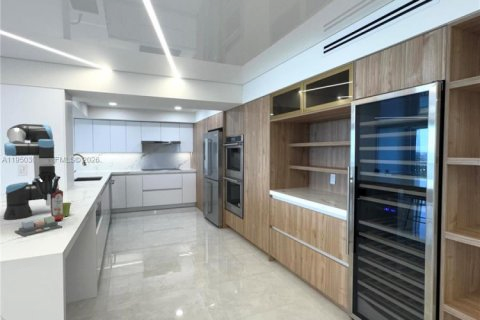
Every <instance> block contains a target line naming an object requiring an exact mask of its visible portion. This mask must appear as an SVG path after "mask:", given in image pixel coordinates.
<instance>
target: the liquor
mask: <svg viewBox="0 0 480 320" xmlns="http://www.w3.org/2000/svg"><path fill="white" fill-rule="evenodd" d="M54 180H55V177H54V179H53V182H54ZM63 203H64V191H63V190H61V189H60V186H59V184H58V185H57V189H56V192H55V193H53V194H52V199H51V205H50V214H51V215H50V216H53V217H55V222H61V221H62V220H63V219H64V217H63Z"/></svg>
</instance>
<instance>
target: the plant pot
mask: <svg viewBox="0 0 480 320" xmlns="http://www.w3.org/2000/svg"><path fill="white" fill-rule="evenodd" d="M71 205H72V202H63V218H66V217H69V216H70V211H71V210H70V209H71Z"/></svg>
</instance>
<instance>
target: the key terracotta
mask: <svg viewBox="0 0 480 320" xmlns="http://www.w3.org/2000/svg"><path fill="white" fill-rule="evenodd" d="M41 225H45V222H44V221H36V222H34V226H35V227H37V226H41Z"/></svg>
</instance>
